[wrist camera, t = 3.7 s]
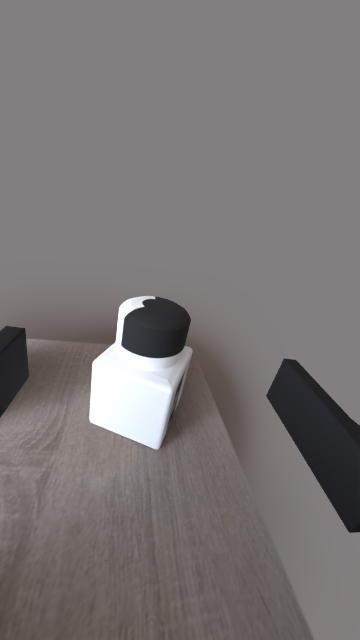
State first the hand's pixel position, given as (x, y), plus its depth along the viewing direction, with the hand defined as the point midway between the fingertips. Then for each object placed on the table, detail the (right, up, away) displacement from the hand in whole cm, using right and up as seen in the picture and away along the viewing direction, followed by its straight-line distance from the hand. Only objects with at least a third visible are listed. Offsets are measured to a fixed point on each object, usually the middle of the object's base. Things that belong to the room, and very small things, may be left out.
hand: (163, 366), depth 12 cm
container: (-4, -8, +14) cm, 17 cm away
